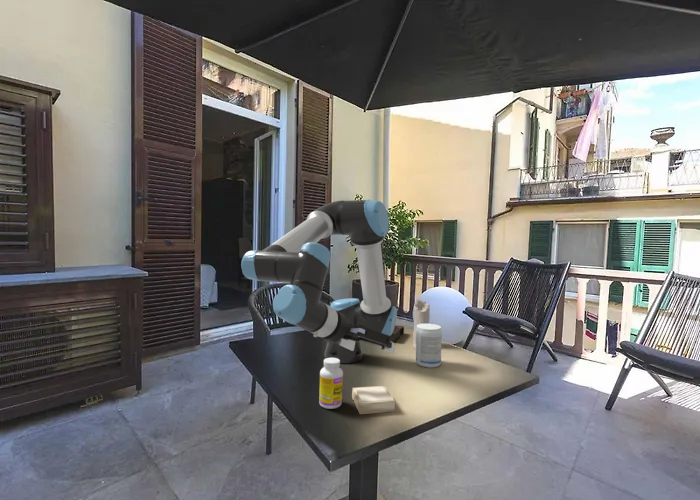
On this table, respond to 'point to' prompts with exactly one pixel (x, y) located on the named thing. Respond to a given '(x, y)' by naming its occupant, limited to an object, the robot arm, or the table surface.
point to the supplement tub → (428, 345)
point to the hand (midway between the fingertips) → (372, 347)
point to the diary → (397, 333)
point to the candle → (420, 316)
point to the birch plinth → (373, 399)
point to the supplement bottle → (331, 384)
